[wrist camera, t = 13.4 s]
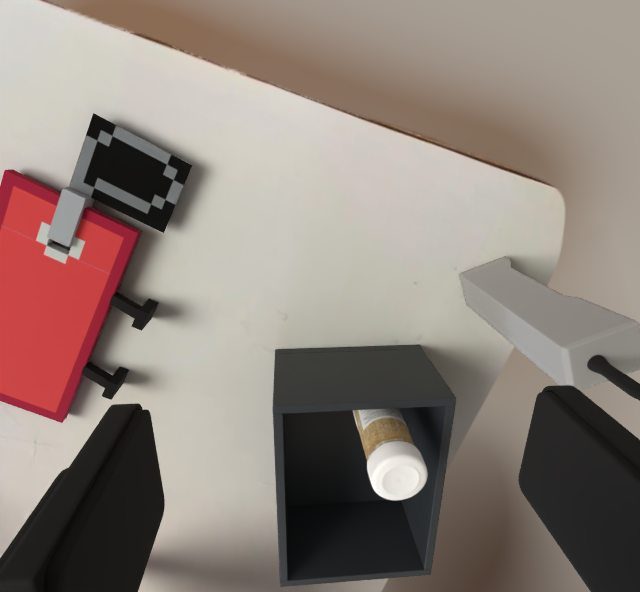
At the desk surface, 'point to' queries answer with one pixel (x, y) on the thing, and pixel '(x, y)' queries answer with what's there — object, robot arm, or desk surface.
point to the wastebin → (354, 463)
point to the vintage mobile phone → (555, 328)
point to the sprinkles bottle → (390, 454)
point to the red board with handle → (75, 264)
